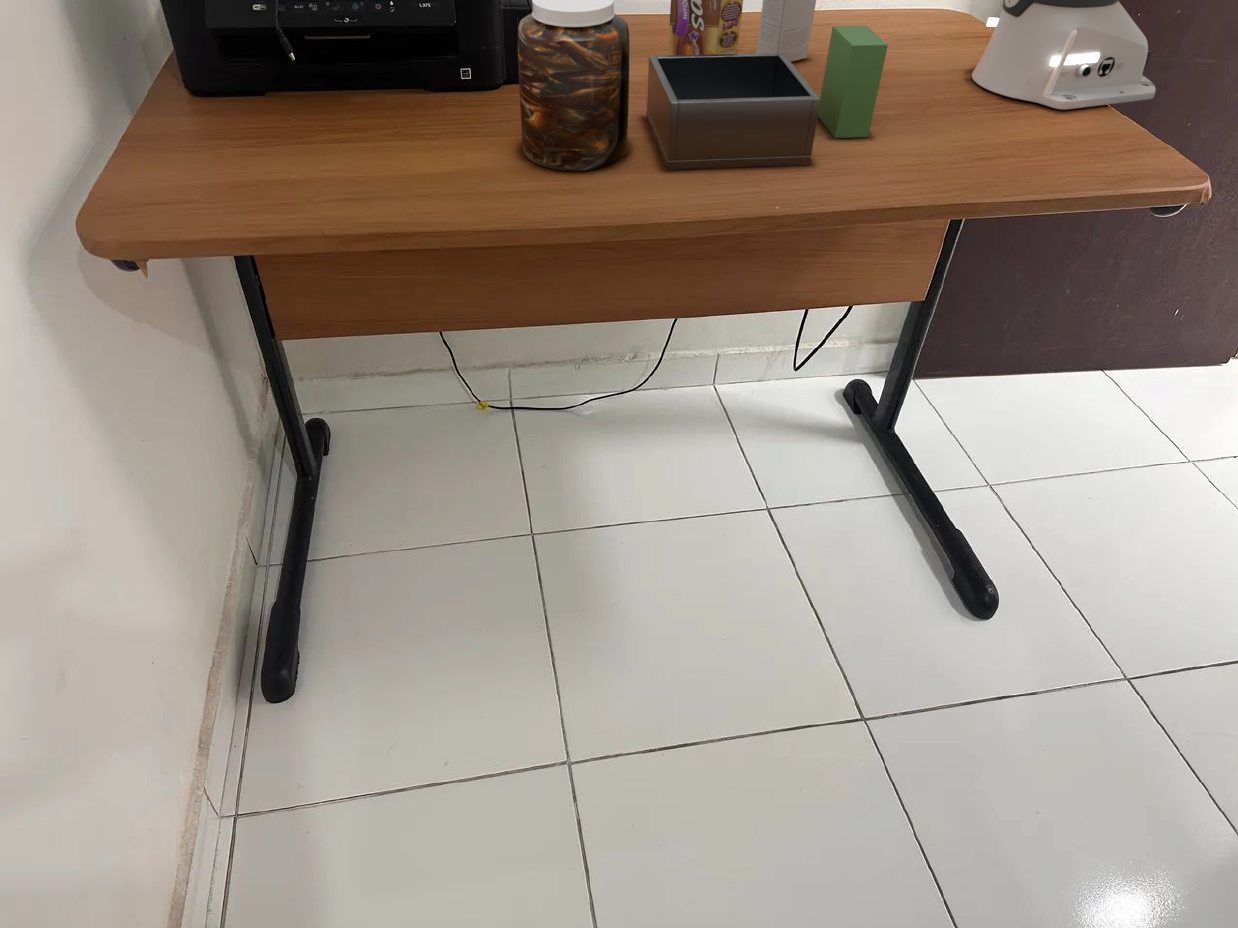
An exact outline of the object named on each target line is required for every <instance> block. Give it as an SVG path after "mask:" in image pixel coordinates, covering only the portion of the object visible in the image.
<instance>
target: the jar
mask: <svg viewBox="0 0 1238 928" xmlns="http://www.w3.org/2000/svg"><path fill="white" fill-rule="evenodd" d="M531 7H532V8H531V9H532V11H531V13H529V14H527V15H526V16H525V17H523V18H522V19H521V20H520V21H519V24H518V27H517V67H518V87H519V90H518V91H519V106H520V107H519V108H520V109H519V110H520V124H521V125H520V127H521V141H522V150H523V154H524V155H525V157H526V158H527V159H528V160H529V161H531V162H533V163H534V164H536V165H539V166H541V167H545V168H547V169H548V168H549V169H551V170H552V169H553V170H557V171H568V172H569V171H571V172H572V171H574V172H575V171H576V172H579V171H590V170H596V169H601V168H605V167H607V166H610V165H613V164H614V163H617V162H618V161H620V160H621V159H623V157H624V156H625V155H626V153H627V151H628V150H627V149H628V136H629V135H628V133H629V102H630V101H629V99H630V98H629V97H630V47H631V46H630V29H629V24H628V22H627V20H626V19H625V18H623V17H622V16H620V15H618V14H617V13H615V0H531Z"/></svg>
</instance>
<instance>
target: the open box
mask: <svg viewBox="0 0 1238 928" xmlns="http://www.w3.org/2000/svg"><path fill="white" fill-rule="evenodd" d="M820 101H821V98H820V96H819V95H818V93H817V92H816V91H815V90H814V88H813V87H812V86H811V85H810V83H809V82H808V81H807V80H806V79H805V77H803V75H802V74H801V73H800V72H799V70H798V69H797V67H795V65H794V64H793V63H792V62H790V61H789V60H788V58H787V57H786V56H785V55H784V54H783V53H757V52H756V53H737V54H709V55H668V54H667V55H665V54H664V55H648V73H647V97H646V120H647V124H648V125H649V128H650V130H651V133H652V135H653V138H654V140H655V143H656V146H657V147H658V150H659V152H660V155H661V157H662V160H663V162H664V165H665V167H666V170H667V171H677V170H678V171H679V170H704V169H705V170H707V169H708V170H709V169H730V168H731V169H732V168H733V169H734V168H760V167H761V168H763V167H787V166H809V165H810V164H811V159H812V154H813V147H814V141H815V136H816V130H817V124H818V123H817V122H818V119H819V117H818V113H819V107H820ZM810 166H811V165H810Z"/></svg>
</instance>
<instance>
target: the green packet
mask: <svg viewBox="0 0 1238 928" xmlns="http://www.w3.org/2000/svg"><path fill="white" fill-rule="evenodd" d="M831 27H832V28H831V33H830V38H829V45H828V51H827V57H826V62H825V68H824V74H823V80H822V85H821V91H820V96H819V97H820V98H821V101H820V107H819V113H818V119H820V121H821V122H822V123H823V125H824V126H825V127H826V129H827V130H828V131H829V132H830V134H831V135H832V136H833V137H834V138H835V139H846V138H847V139H850V138H869V135H870V130H871V126H872V121H873V117H874V112H875V108H876V102H877V99H878V93H879V88H880V84H881V80H882V76H883V75H882V74H883V69H884V65H885V61H886V57H887V51H888V48H889V45H888V43H887V42H886V41H885V40H884V39H882V38H881V37H880V36H879V35H878V34H877V33H876V32H874V31H873V29H871V28H870V27H869V26H868V25H867V24H858V25H857V24H856V25H851V24H849V25H832V26H831Z"/></svg>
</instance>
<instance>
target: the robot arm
mask: <svg viewBox="0 0 1238 928" xmlns="http://www.w3.org/2000/svg"><path fill="white" fill-rule="evenodd" d="M1120 2H1121V1H1120V0H1003V1H1002V9H1001V12H1000V15H999V17H988V18H987V22H986V27H994V29H993V32H992V35H991V36H990V39H989V41H988V43H987V45H986V48H985V49H984V52H983V53H982V55H981V57H980V59H979V61H978V63H977V65H976V66H975V68H974V69H973V71H972V72H971V78H972V80H973V81H974V82H975V83H976V84H977V85H978V86H980V87H982V89H983V88H984V89H986V90H988V91H990V92H992V93H995V94H998V95H1001V96H1005V97H1008V98H1012V99H1017V100H1020V101H1027V102H1031V103H1037V104H1040V105H1043V106H1046V107H1050V108H1052V109H1056V110H1061V111H1062V110H1063V111H1064V110H1066V111H1067V110H1073V109H1083V108H1091V107H1099V106H1107V105H1114V104H1123V103H1132V102H1139V101H1147V100H1153V99H1155V95H1156V86H1155V84H1154V83H1153V82H1152V81H1151V80H1150V79H1148V78H1147V77H1146V75H1145V76H1144V75H1143V73H1144V71H1145V70H1147V69H1146V68H1147V66H1148V64H1149V61H1150V59H1151V56H1152V54H1153V51H1151V50H1150V49H1149V43H1148V40H1147V37H1146V35H1145V34H1144V33H1143V31H1142V30H1141V29H1140V27H1139V26H1138V25H1137V23H1136V22H1135V21H1134V20H1133V18H1132V17H1131V16H1130V15H1129V13H1128V12H1127V10H1126V9H1125V7H1123V5H1122V4H1121V3H1120Z"/></svg>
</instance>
